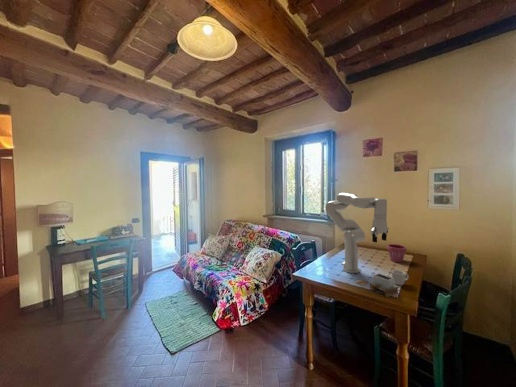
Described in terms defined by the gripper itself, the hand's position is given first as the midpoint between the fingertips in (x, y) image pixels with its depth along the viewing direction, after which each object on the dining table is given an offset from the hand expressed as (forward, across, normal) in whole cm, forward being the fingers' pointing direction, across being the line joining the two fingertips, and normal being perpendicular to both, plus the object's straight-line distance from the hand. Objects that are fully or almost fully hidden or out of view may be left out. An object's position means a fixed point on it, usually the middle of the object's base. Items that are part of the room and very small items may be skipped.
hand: (379, 241), depth 155 cm
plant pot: (+29, -52, -20) cm, 63 cm away
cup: (+28, -9, +10) cm, 31 cm away
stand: (+28, +11, +12) cm, 32 cm away
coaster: (+28, +12, -3) cm, 31 cm away
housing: (+24, +11, +11) cm, 28 cm away
